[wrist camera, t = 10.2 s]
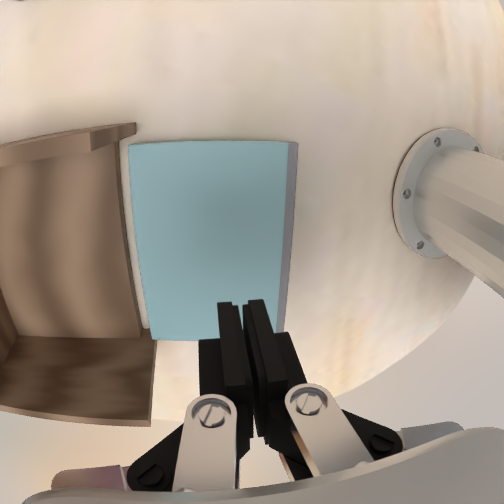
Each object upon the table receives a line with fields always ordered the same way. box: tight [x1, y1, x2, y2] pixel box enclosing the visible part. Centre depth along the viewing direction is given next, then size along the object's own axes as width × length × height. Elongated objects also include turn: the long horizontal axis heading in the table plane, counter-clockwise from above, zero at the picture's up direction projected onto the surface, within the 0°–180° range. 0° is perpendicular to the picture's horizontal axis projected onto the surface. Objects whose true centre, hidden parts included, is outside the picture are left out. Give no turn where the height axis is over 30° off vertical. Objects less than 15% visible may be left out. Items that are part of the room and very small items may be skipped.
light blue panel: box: [128, 140, 298, 341], centre depth 22 cm, size 1×15×11 cm
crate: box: [0, 123, 157, 427], centre depth 18 cm, size 15×18×10 cm
